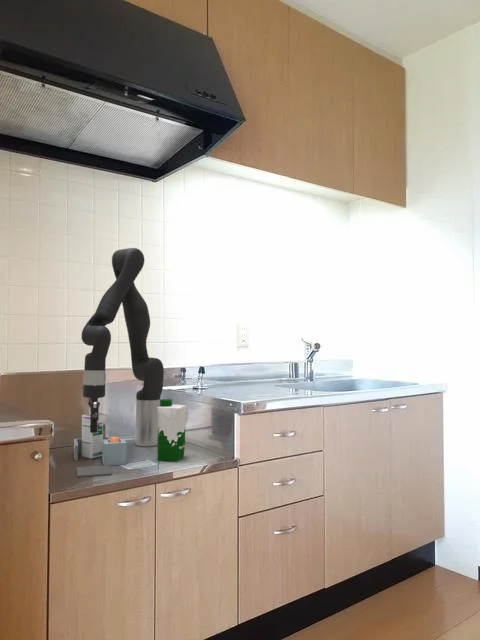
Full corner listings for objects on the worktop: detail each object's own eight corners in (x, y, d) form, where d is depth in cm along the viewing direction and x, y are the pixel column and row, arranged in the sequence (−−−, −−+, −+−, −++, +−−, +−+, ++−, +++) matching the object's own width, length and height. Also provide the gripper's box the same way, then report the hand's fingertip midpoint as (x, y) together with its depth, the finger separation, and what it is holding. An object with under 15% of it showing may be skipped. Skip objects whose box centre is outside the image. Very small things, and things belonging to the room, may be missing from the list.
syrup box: (91, 459, 176) (92, 415, 177) (80, 456, 180) (81, 414, 180) (105, 455, 181) (106, 413, 181) (94, 453, 184) (95, 412, 185)
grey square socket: (123, 459, 176) (124, 438, 177) (126, 464, 170) (126, 442, 170) (102, 460, 174) (102, 439, 174) (104, 465, 167) (104, 443, 168)
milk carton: (162, 455, 183) (163, 397, 184) (187, 456, 182) (188, 398, 182) (153, 461, 175) (154, 401, 175) (179, 462, 173) (180, 402, 173)
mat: (109, 466, 167) (109, 465, 167) (112, 474, 157) (112, 473, 157) (76, 468, 163) (76, 467, 163) (77, 477, 154) (77, 475, 154)
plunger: (118, 454, 174) (118, 436, 174) (119, 456, 171) (119, 438, 171) (109, 454, 173) (109, 436, 173) (109, 457, 170) (110, 438, 170)
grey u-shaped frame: (109, 450, 188) (110, 437, 188) (113, 458, 177) (113, 443, 178) (73, 453, 184) (73, 438, 184) (74, 460, 173) (74, 445, 173)
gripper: (82, 381, 186) (80, 427, 186) (84, 385, 173) (82, 434, 172) (103, 381, 189) (102, 426, 188) (107, 385, 175) (105, 433, 175)
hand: (92, 430), depth 180 cm, fingers open, 8 cm apart
